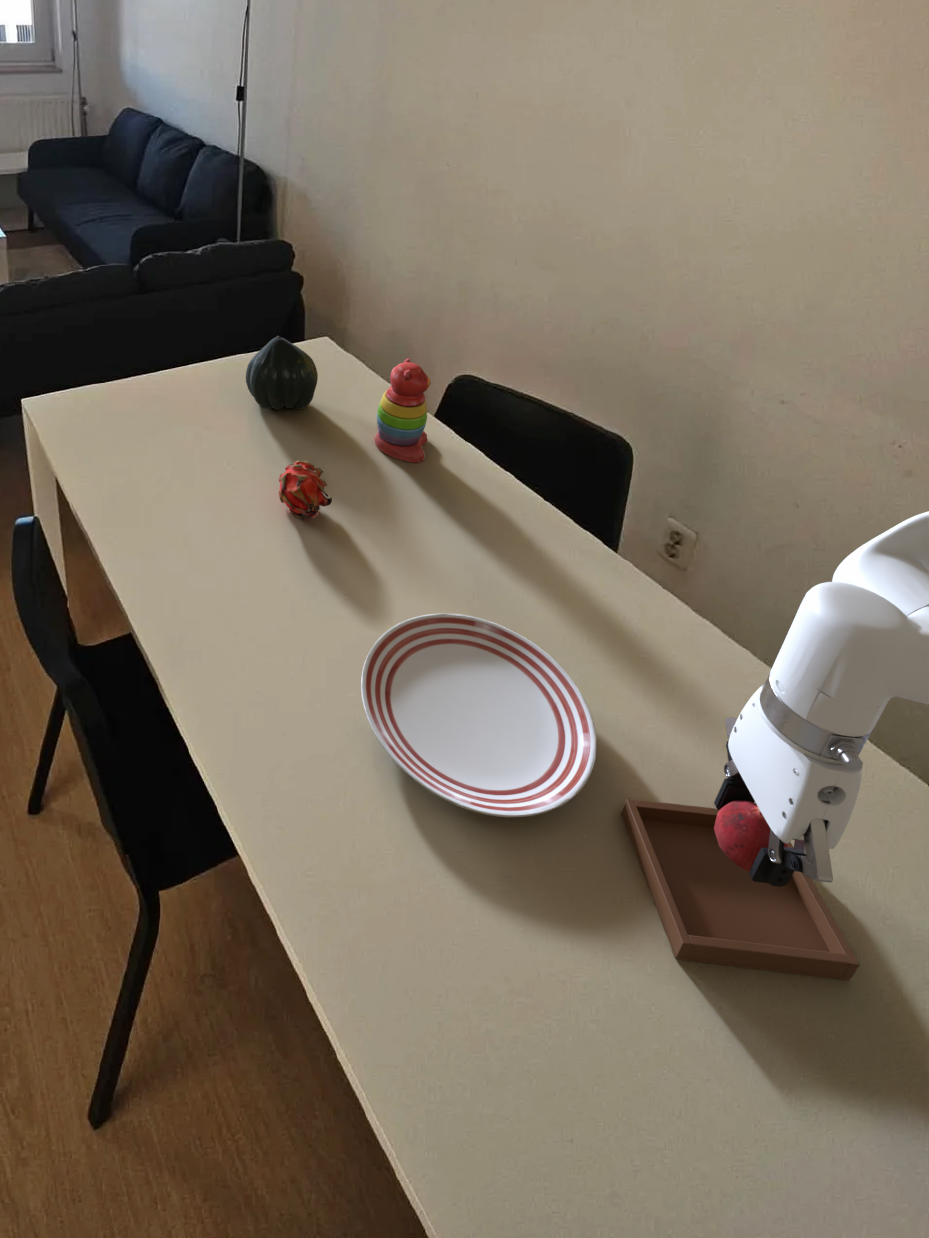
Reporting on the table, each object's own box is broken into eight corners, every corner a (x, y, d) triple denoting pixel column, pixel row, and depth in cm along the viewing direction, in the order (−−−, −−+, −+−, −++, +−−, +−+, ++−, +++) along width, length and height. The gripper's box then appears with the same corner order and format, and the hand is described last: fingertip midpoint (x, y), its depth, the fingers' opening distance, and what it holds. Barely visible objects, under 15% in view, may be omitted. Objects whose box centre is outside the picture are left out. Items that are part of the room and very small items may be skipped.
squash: (309, 408, 150) (318, 335, 154) (235, 399, 153) (247, 328, 157) (314, 421, 163) (323, 354, 167) (246, 413, 166) (256, 347, 170)
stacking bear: (423, 465, 143) (437, 382, 135) (369, 454, 145) (380, 372, 138) (427, 436, 152) (441, 357, 145) (377, 426, 155) (388, 348, 148)
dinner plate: (540, 890, 76) (547, 869, 75) (316, 723, 92) (318, 704, 91) (620, 711, 95) (626, 692, 94) (423, 599, 111) (426, 582, 110)
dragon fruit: (294, 489, 137) (312, 542, 127) (259, 472, 133) (275, 525, 123) (326, 459, 134) (347, 510, 124) (291, 440, 130) (310, 491, 120)
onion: (716, 883, 73) (742, 829, 70) (697, 823, 78) (720, 771, 75) (783, 900, 72) (813, 847, 68) (760, 839, 77) (786, 787, 74)
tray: (767, 830, 82) (775, 814, 81) (849, 980, 70) (860, 964, 69) (620, 813, 83) (626, 798, 82) (675, 959, 71) (683, 943, 70)
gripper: (932, 816, 58) (846, 951, 66) (799, 639, 74) (741, 763, 81) (830, 805, 59) (756, 940, 66) (719, 631, 75) (669, 756, 82)
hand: (748, 841), depth 74 cm, fingers closed on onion, 5 cm apart
